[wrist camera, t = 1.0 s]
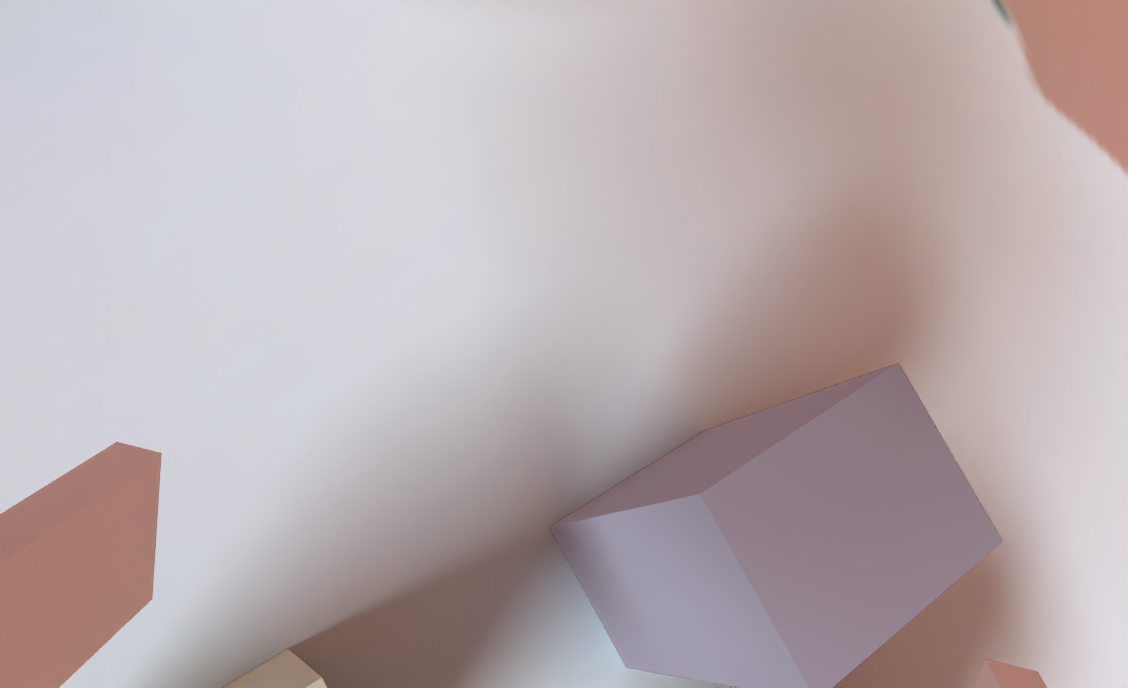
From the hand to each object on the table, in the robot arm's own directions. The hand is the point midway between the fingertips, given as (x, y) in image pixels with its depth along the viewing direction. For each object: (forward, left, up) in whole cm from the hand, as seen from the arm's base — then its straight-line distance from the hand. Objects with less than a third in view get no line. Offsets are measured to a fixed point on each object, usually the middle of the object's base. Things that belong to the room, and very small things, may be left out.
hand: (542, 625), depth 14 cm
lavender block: (+2, +12, -19) cm, 22 cm away
